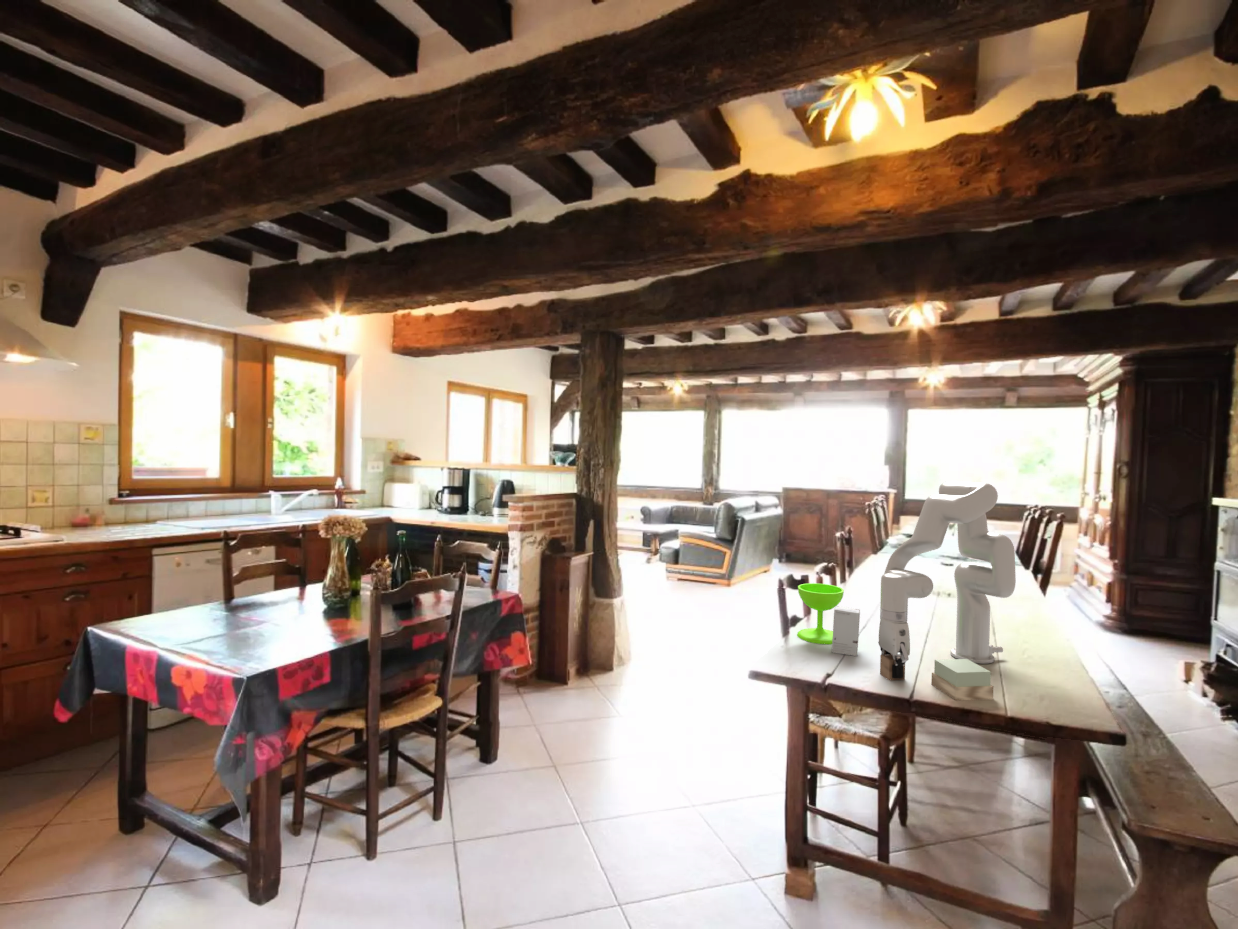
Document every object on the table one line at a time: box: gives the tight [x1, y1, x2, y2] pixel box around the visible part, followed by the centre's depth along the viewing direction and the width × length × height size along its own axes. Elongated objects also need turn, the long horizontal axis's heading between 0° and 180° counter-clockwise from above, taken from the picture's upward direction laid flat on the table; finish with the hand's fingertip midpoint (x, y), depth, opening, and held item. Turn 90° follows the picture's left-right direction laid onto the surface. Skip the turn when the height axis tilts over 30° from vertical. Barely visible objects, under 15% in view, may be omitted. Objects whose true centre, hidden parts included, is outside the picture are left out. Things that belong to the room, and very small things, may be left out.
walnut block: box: [879, 654, 906, 681], centre depth 181 cm, size 5×5×6 cm
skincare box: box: [831, 605, 861, 657], centre depth 203 cm, size 8×6×15 cm
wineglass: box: [796, 582, 845, 645], centre depth 218 cm, size 16×16×18 cm
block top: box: [933, 658, 992, 687], centre depth 171 cm, size 10×10×4 cm
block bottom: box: [931, 671, 995, 701], centre depth 171 cm, size 11×11×4 cm
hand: (892, 673), depth 181 cm, fingers closed on walnut block, 5 cm apart
